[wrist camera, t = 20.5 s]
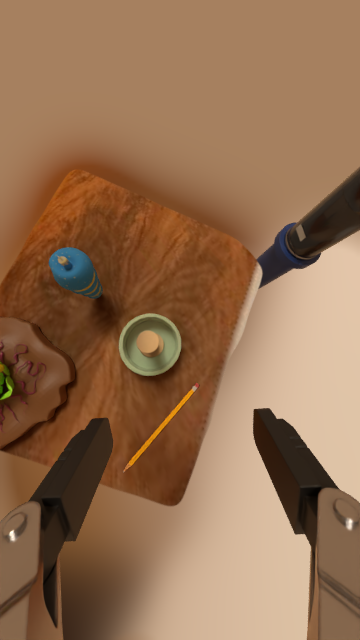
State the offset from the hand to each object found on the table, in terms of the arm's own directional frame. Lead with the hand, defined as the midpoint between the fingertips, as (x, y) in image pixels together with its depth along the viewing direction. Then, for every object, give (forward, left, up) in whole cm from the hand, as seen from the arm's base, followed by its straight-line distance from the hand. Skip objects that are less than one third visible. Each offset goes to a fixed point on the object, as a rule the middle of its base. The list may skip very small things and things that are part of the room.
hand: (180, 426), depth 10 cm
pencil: (+2, +10, -24) cm, 26 cm away
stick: (+1, -5, -24) cm, 24 cm away
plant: (+26, -6, -24) cm, 36 cm away
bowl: (+1, -5, -24) cm, 25 cm away
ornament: (+8, -17, -24) cm, 31 cm away
